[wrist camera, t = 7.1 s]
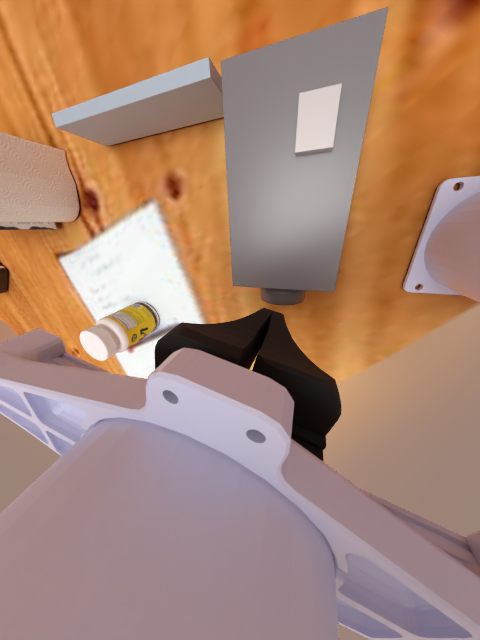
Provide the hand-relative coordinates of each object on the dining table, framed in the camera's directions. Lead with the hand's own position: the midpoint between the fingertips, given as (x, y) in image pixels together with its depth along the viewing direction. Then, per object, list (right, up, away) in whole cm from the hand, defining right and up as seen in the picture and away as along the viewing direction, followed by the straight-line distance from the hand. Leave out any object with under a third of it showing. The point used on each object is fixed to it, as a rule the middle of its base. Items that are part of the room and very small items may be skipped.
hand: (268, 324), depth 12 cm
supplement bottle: (-16, +1, +17) cm, 23 cm away
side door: (-9, +18, +5) cm, 21 cm away
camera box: (+3, +11, +5) cm, 12 cm away
